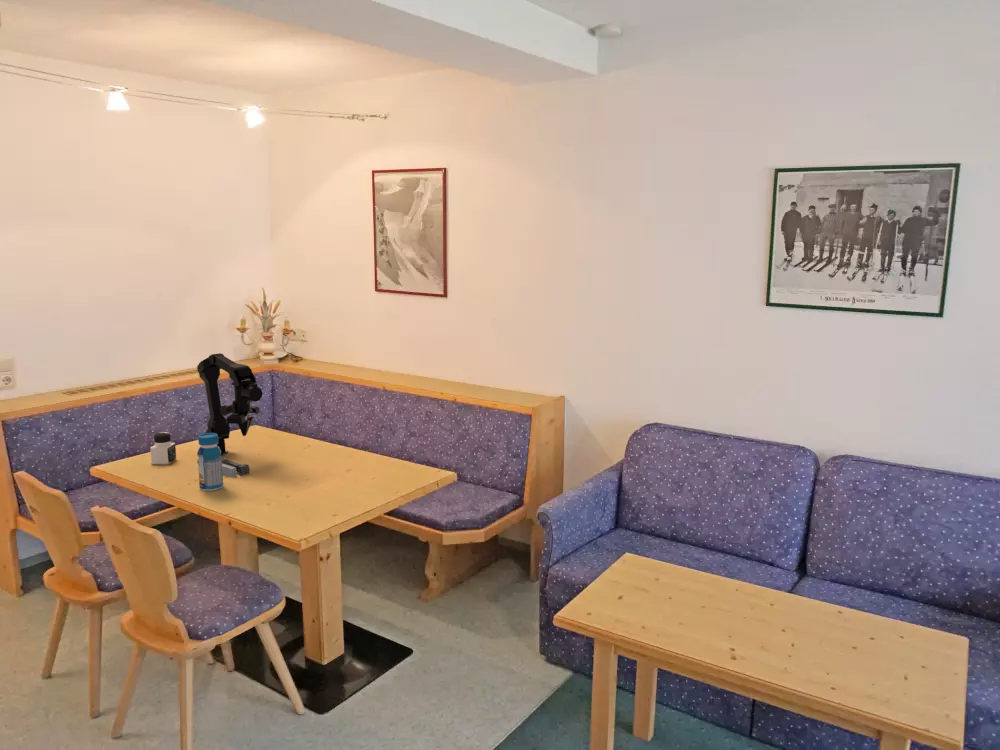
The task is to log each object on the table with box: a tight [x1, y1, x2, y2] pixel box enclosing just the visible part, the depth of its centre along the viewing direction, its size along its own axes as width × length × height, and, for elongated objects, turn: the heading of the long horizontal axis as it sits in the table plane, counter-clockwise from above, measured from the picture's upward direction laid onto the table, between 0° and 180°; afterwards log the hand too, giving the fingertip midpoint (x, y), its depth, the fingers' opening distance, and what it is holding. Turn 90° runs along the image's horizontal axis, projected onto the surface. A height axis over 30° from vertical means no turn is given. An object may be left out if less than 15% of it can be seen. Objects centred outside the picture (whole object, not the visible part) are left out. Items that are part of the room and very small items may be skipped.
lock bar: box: [222, 456, 243, 473], centre depth 302 cm, size 14×4×3 cm, turn 50°
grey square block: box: [237, 463, 250, 476], centre depth 297 cm, size 2×4×4 cm, turn 144°
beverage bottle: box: [196, 432, 224, 492], centre depth 279 cm, size 8×8×20 cm
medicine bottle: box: [150, 431, 177, 465], centre depth 311 cm, size 7×7×12 cm
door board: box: [222, 464, 238, 478], centre depth 299 cm, size 20×2×4 cm, turn 54°
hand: (244, 435), depth 307 cm, fingers closed
